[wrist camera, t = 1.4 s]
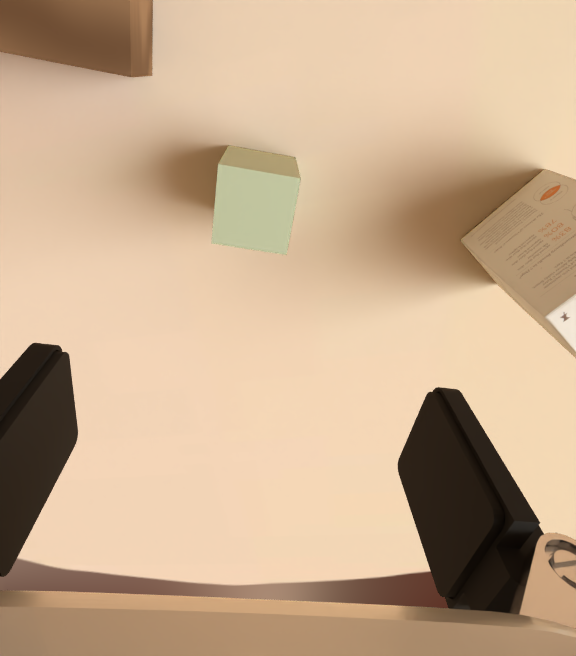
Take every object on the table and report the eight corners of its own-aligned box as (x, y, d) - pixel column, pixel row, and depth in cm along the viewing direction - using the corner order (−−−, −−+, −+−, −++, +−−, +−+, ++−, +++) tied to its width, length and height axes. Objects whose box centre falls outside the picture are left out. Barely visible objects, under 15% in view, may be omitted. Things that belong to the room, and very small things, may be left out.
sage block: (228, 145, 31) (218, 164, 25) (295, 157, 32) (300, 178, 26) (222, 212, 34) (211, 243, 28) (284, 222, 34) (286, 255, 28)
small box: (497, 285, 38) (591, 376, 27) (457, 239, 35) (542, 317, 24) (583, 221, 35) (727, 292, 24) (545, 165, 32) (687, 216, 21)
